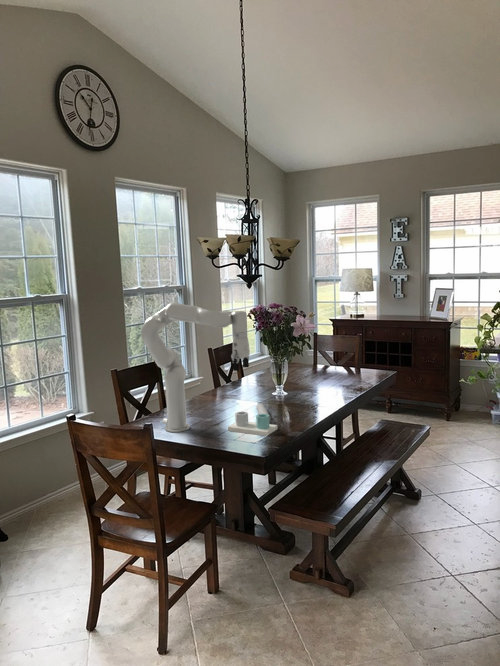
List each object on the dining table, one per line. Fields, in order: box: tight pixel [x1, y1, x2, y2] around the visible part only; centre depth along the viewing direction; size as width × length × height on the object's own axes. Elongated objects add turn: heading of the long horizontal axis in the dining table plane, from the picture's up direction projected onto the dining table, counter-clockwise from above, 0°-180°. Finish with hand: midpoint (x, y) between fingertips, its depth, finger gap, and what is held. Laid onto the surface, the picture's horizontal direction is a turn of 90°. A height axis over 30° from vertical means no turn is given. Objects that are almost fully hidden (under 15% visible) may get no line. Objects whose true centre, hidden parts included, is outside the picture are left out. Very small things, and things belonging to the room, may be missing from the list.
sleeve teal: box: [255, 413, 270, 429], centre depth 270 cm, size 6×6×6 cm
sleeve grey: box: [234, 411, 249, 427], centre depth 276 cm, size 6×6×6 cm
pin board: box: [227, 421, 278, 437], centre depth 273 cm, size 22×12×7 cm, turn 62°
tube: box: [255, 402, 272, 423], centre depth 297 cm, size 5×5×25 cm
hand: (241, 368), depth 276 cm, fingers open, 9 cm apart
